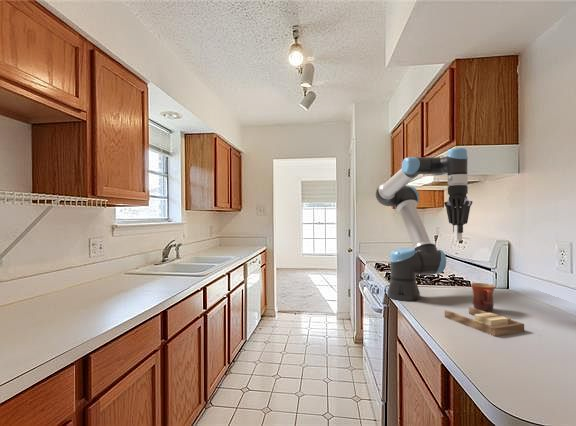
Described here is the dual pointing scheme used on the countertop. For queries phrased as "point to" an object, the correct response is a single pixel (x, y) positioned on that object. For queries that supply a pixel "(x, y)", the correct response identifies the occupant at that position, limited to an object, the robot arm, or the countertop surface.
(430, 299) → the countertop surface
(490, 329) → the beam slot
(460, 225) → the robot arm
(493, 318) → the block
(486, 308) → the mug
